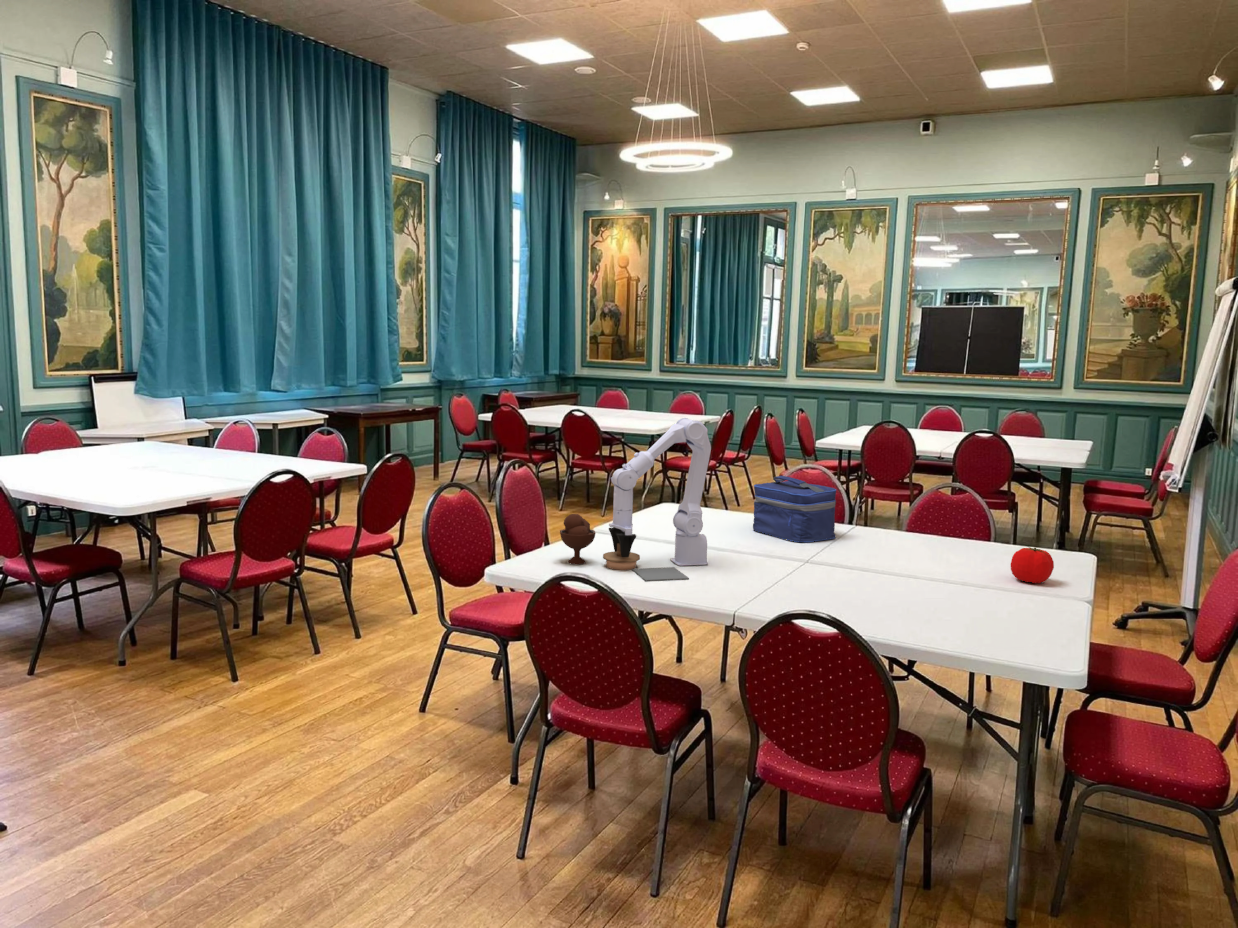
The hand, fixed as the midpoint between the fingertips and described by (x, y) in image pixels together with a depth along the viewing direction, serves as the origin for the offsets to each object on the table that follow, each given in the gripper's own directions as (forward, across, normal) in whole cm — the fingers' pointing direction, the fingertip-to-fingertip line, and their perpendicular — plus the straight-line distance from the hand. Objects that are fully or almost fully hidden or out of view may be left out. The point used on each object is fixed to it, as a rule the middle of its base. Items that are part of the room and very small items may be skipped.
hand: (621, 554), depth 272 cm
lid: (+1, 0, 0) cm, 1 cm away
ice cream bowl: (+4, -7, -12) cm, 14 cm away
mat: (+4, +12, +8) cm, 15 cm away
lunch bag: (+4, -36, +74) cm, 82 cm away
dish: (+4, 0, 0) cm, 4 cm away
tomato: (+4, +37, +115) cm, 121 cm away
